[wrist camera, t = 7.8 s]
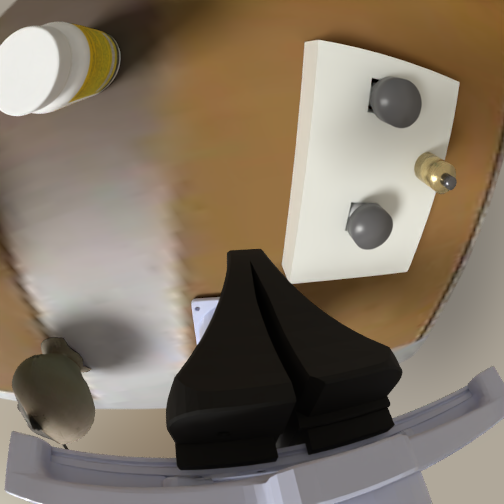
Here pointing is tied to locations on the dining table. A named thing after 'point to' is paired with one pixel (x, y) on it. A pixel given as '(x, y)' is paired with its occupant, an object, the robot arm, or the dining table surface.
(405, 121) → the knob
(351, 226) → the knob
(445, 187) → the gold domed cylinder
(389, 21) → the dining table surface
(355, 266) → the mount block
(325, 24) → the dining table surface
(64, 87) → the supplement bottle
